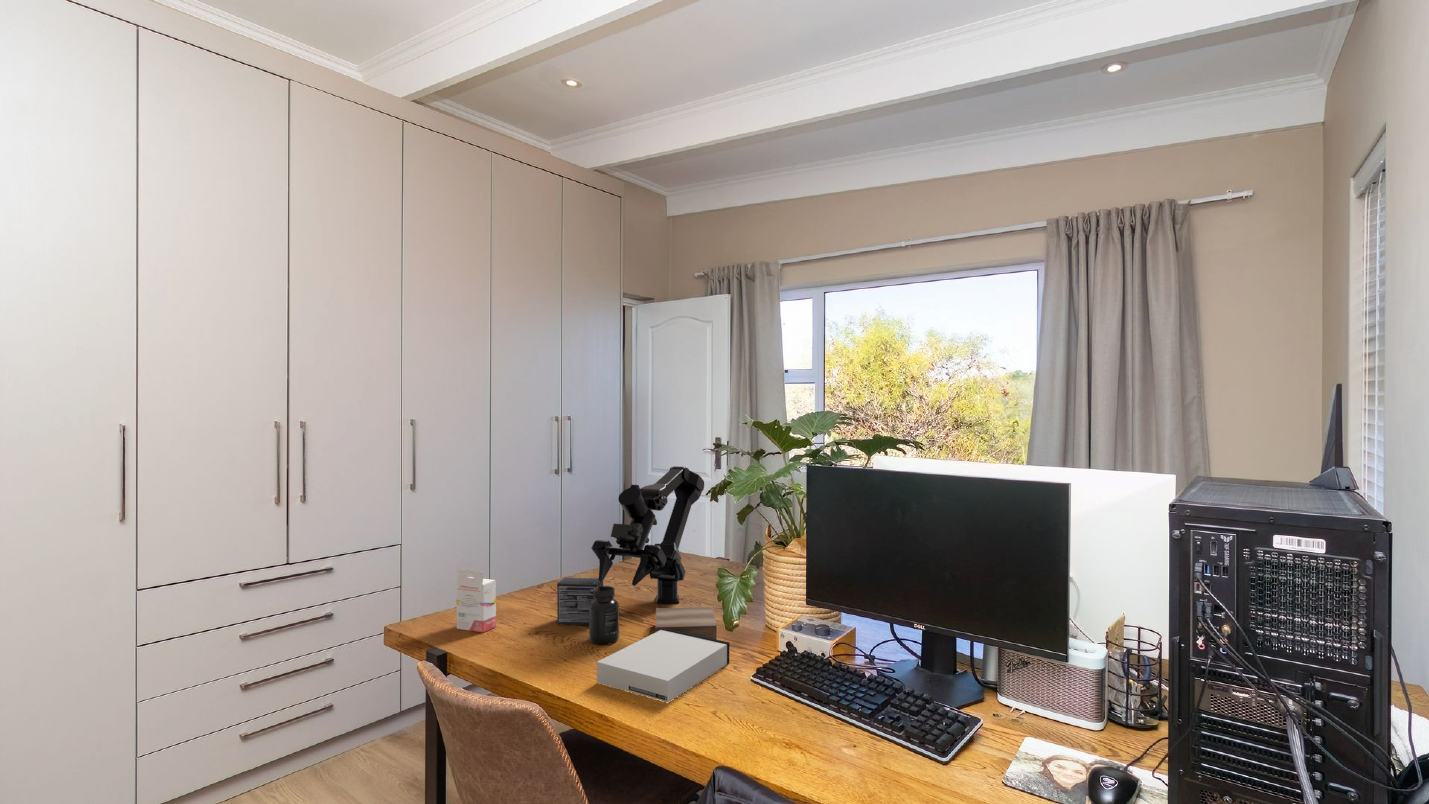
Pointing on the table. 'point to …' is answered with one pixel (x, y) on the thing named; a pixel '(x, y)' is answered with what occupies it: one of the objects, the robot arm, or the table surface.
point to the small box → (575, 599)
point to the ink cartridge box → (475, 601)
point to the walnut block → (688, 620)
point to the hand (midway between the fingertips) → (616, 583)
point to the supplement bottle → (603, 616)
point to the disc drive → (663, 664)
